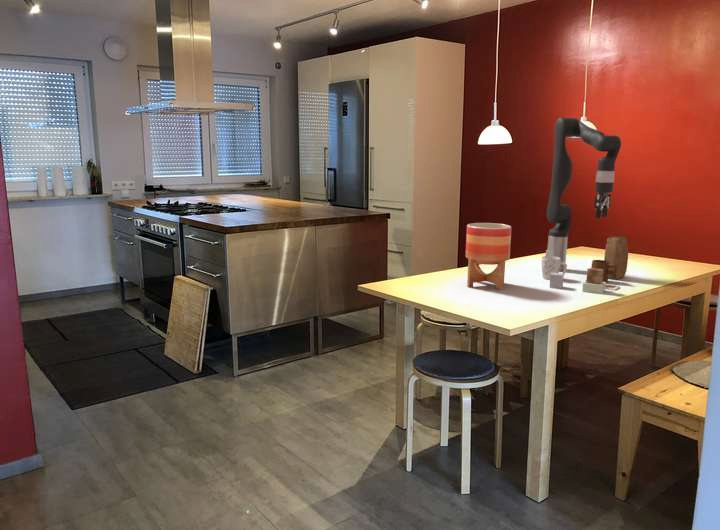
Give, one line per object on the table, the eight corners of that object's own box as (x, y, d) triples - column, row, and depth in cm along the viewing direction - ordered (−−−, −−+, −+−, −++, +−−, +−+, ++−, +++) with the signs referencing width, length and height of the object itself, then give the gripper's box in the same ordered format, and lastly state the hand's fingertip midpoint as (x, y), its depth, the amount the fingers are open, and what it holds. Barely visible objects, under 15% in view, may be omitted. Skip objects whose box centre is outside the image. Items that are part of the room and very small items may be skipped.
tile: (598, 287, 255) (598, 285, 255) (603, 285, 260) (603, 283, 260) (614, 290, 251) (615, 288, 251) (619, 287, 256) (620, 285, 256)
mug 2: (620, 283, 265) (622, 263, 264) (611, 285, 261) (613, 264, 259) (595, 278, 275) (597, 259, 273) (587, 280, 270) (588, 260, 268)
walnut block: (586, 282, 248) (587, 269, 247) (590, 280, 252) (591, 267, 251) (597, 284, 245) (599, 270, 244) (602, 282, 249) (603, 269, 247)
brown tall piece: (614, 280, 271) (618, 238, 267) (600, 277, 277) (604, 236, 273) (628, 278, 277) (632, 236, 273) (614, 275, 283) (618, 234, 279)
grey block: (549, 287, 255) (550, 274, 253) (551, 285, 259) (552, 272, 258) (561, 289, 253) (562, 275, 251) (562, 286, 257) (563, 273, 256)
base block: (582, 292, 248) (583, 283, 247) (585, 288, 255) (585, 279, 254) (602, 294, 244) (603, 285, 243) (604, 291, 251) (605, 282, 250)
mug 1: (566, 278, 274) (568, 257, 272) (564, 281, 267) (566, 260, 265) (541, 275, 279) (543, 255, 277) (539, 279, 271) (540, 258, 270)
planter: (482, 292, 245) (486, 229, 240) (454, 282, 262) (457, 223, 257) (518, 287, 254) (522, 227, 249) (488, 278, 271) (491, 221, 266)
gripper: (601, 180, 264) (598, 215, 267) (590, 181, 253) (587, 218, 256) (618, 181, 259) (615, 217, 262) (608, 182, 249) (604, 219, 252)
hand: (601, 217), depth 259 cm, fingers open, 8 cm apart
